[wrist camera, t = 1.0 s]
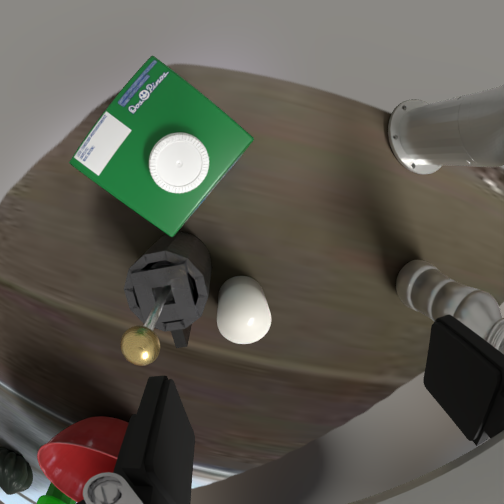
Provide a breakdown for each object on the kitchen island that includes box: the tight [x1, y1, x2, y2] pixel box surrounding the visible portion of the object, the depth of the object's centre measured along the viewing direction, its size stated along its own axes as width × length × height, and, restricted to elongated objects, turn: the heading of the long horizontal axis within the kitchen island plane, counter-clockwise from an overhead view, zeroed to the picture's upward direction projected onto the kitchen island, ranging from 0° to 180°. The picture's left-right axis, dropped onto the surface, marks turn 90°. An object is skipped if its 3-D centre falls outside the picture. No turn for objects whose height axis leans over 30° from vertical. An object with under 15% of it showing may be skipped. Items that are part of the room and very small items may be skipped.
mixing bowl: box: [37, 416, 128, 502], centre depth 46 cm, size 28×28×15 cm
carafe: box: [124, 232, 212, 348], centre depth 39 cm, size 9×12×13 cm
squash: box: [0, 447, 33, 495], centre depth 50 cm, size 14×15×15 cm
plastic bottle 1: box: [37, 482, 76, 504], centre depth 44 cm, size 10×10×25 cm
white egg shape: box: [217, 276, 271, 344], centre depth 43 cm, size 7×7×8 cm
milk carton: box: [69, 56, 254, 237], centre depth 30 cm, size 9×9×25 cm
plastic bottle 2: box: [396, 260, 504, 354], centre depth 37 cm, size 8×8×25 cm
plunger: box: [121, 260, 194, 366], centre depth 29 cm, size 6×6×16 cm
